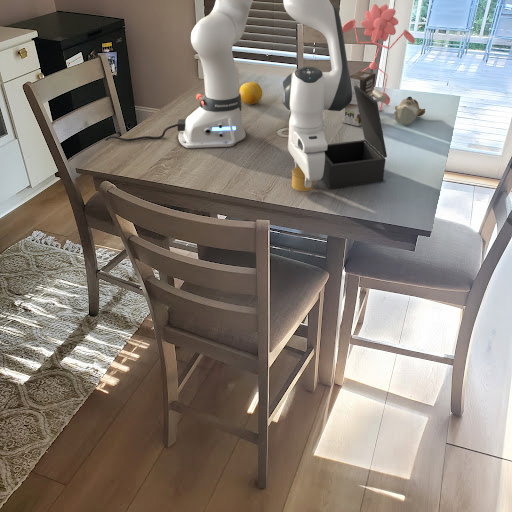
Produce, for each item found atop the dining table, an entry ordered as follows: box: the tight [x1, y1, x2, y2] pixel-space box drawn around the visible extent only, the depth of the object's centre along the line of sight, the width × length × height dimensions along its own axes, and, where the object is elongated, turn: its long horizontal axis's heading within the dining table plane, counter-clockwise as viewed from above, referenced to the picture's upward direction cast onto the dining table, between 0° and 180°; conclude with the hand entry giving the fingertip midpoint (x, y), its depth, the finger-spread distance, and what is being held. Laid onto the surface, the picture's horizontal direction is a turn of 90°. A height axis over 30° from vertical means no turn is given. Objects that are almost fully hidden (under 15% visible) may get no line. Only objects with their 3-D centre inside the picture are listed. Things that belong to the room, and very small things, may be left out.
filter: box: [291, 166, 315, 192], centre depth 153 cm, size 6×6×4 cm
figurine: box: [342, 3, 416, 111], centre depth 201 cm, size 15×26×35 cm, turn 71°
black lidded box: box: [321, 139, 387, 189], centre depth 161 cm, size 16×14×7 cm
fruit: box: [239, 81, 263, 105], centre depth 211 cm, size 9×8×8 cm
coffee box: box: [343, 70, 377, 127], centre depth 192 cm, size 9×6×16 cm
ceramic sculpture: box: [393, 96, 426, 126], centre depth 194 cm, size 11×9×15 cm
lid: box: [354, 86, 388, 159], centre depth 155 cm, size 17×14×5 cm
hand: (303, 180), depth 153 cm, fingers closed on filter, 6 cm apart
